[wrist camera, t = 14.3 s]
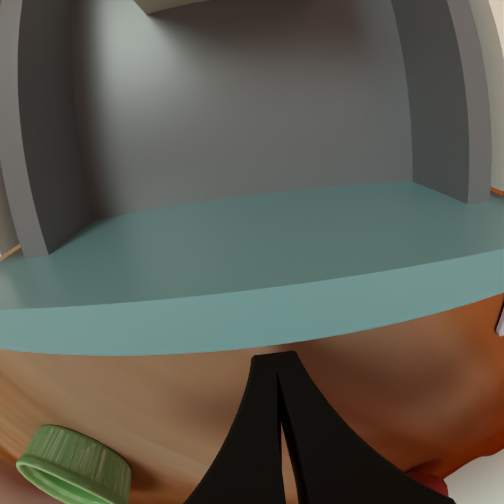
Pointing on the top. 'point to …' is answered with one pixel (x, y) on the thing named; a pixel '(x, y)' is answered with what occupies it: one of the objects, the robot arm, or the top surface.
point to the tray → (241, 172)
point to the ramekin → (75, 468)
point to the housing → (499, 90)
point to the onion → (430, 481)
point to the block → (162, 4)
